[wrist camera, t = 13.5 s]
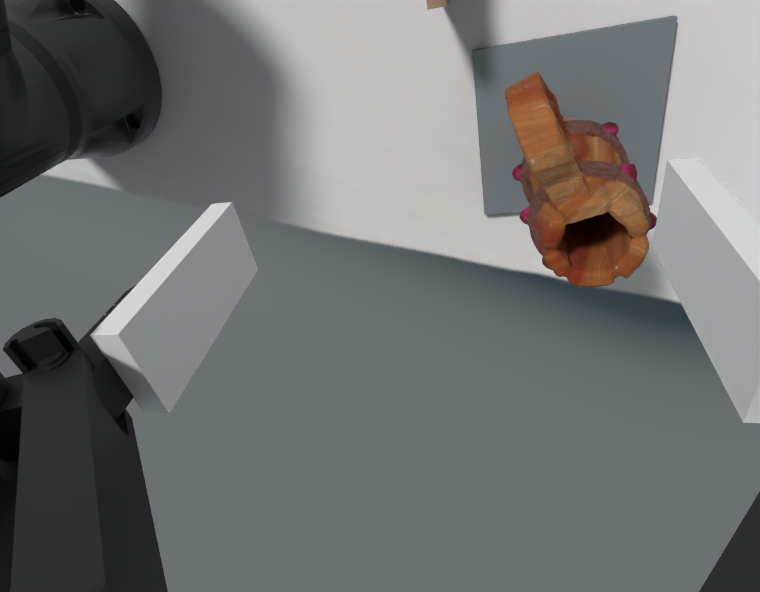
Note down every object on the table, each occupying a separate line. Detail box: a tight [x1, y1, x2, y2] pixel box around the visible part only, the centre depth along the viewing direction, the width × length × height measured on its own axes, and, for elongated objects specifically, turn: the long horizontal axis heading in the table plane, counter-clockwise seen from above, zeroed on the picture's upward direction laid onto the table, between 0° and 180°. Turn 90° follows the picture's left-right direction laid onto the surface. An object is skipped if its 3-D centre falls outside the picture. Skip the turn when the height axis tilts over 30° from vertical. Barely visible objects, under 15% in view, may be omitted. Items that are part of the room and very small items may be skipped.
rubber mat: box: [472, 16, 677, 215], centre depth 40 cm, size 14×14×1 cm
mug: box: [505, 72, 657, 287], centre depth 34 cm, size 15×8×15 cm, turn 34°
